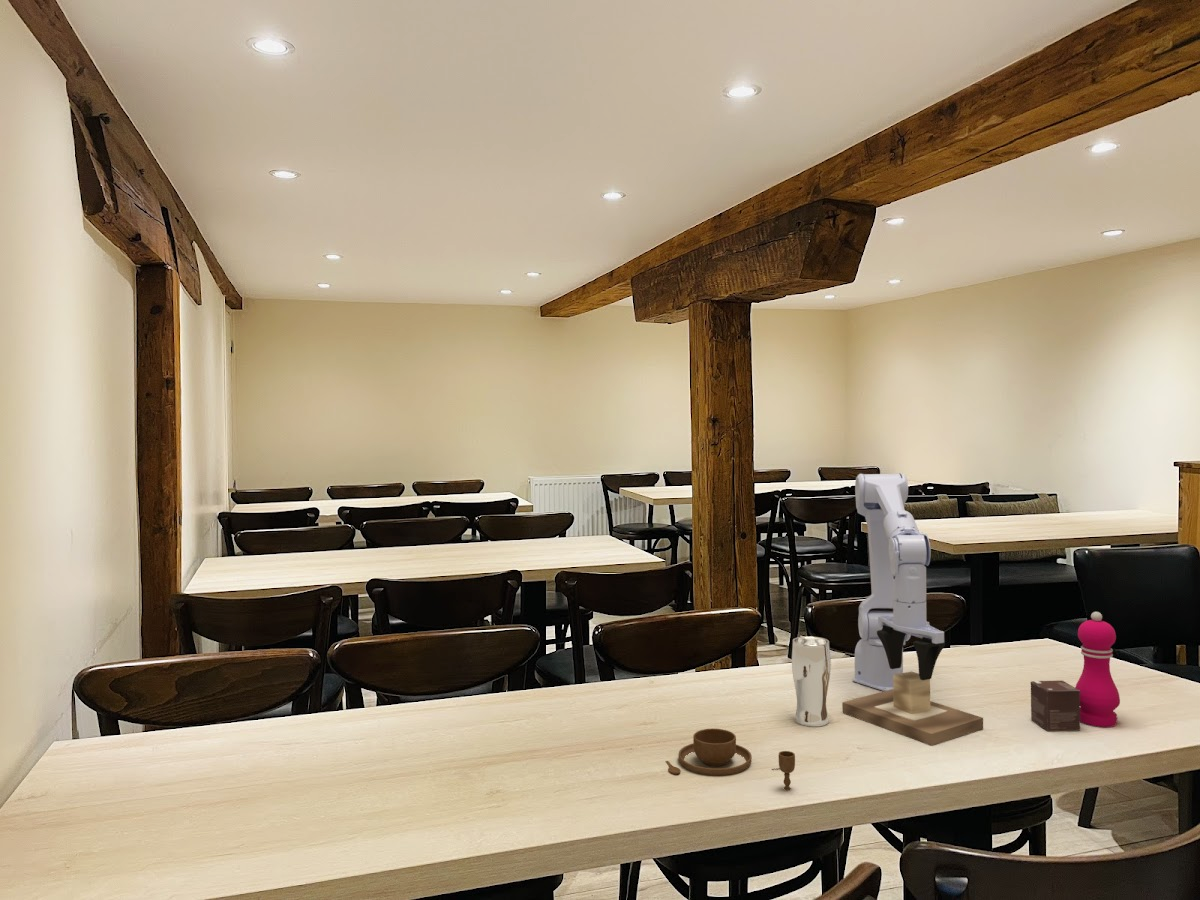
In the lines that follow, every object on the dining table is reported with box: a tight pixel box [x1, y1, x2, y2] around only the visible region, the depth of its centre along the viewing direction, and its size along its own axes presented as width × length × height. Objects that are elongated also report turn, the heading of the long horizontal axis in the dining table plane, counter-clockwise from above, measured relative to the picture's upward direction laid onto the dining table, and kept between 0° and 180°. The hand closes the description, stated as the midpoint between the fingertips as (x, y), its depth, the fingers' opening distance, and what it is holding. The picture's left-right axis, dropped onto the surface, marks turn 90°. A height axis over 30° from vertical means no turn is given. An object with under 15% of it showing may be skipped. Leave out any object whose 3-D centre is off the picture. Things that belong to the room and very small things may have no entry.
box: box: [1030, 680, 1081, 732], centre depth 155 cm, size 6×6×7 cm
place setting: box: [665, 728, 796, 791], centre depth 138 cm, size 18×20×6 cm
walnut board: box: [841, 689, 984, 746], centre depth 158 cm, size 20×14×2 cm
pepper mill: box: [1074, 611, 1121, 728], centre depth 156 cm, size 7×7×20 cm
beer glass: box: [791, 635, 832, 728], centre depth 159 cm, size 7×7×15 cm
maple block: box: [893, 670, 931, 714], centre depth 158 cm, size 4×4×6 cm
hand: (910, 673), depth 158 cm, fingers open, 7 cm apart
